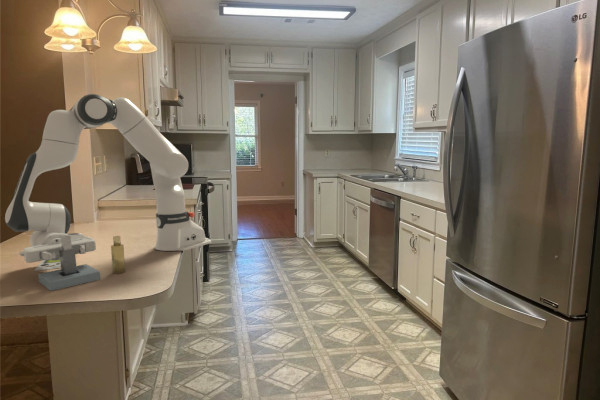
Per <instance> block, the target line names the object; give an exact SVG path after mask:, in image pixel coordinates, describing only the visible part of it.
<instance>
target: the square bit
mask: <svg viewBox="0 0 600 400" xmlns="http://www.w3.org/2000/svg"><path fill="white" fill-rule="evenodd" d="M61 246H62V249H59V253H60V263H61V268H60V269H61V272H62V276H67V275H72V274H76V273H77V267H76V266H77V260H76V254H75V249H73V248H72V245H71V237H70V236H62V237H61Z"/></svg>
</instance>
